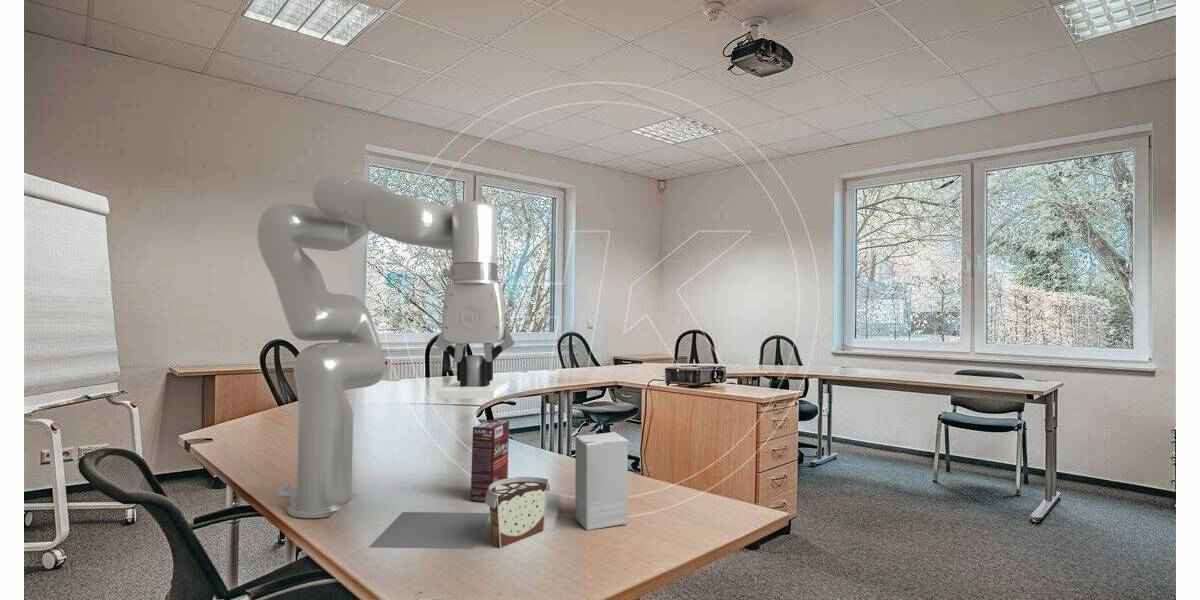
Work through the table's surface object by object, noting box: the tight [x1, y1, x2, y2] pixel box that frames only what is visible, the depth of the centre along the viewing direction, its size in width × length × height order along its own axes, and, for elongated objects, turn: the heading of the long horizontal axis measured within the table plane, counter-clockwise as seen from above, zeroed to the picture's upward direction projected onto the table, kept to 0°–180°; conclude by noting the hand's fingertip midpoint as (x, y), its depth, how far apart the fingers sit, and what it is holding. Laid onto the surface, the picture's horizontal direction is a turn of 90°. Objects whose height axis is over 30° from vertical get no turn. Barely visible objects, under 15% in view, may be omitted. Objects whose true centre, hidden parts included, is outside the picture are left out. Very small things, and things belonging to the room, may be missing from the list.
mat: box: [368, 511, 490, 550], centre depth 99 cm, size 16×16×2 cm
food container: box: [484, 476, 551, 549], centre depth 97 cm, size 12×6×10 cm, turn 141°
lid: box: [435, 354, 510, 400], centre depth 99 cm, size 9×14×6 cm, turn 179°
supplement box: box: [470, 419, 510, 504], centre depth 117 cm, size 9×5×16 cm, turn 168°
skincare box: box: [574, 431, 629, 531], centre depth 108 cm, size 8×7×16 cm
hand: (475, 384), depth 99 cm, fingers closed on lid, 3 cm apart
